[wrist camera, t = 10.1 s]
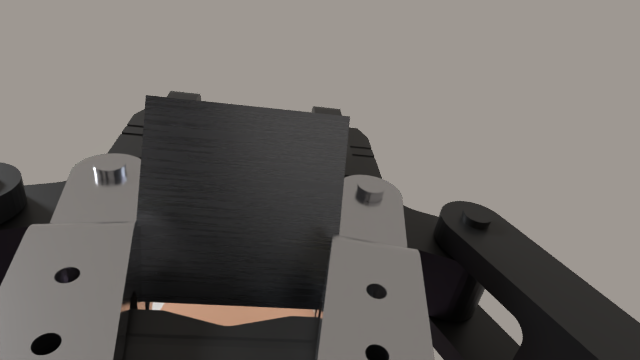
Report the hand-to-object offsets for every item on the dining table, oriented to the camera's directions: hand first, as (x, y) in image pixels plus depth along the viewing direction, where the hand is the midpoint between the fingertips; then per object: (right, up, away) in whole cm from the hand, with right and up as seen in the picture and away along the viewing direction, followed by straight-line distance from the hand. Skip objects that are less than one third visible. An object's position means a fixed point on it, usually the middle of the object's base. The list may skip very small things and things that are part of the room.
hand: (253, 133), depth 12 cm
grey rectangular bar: (-1, -3, +4) cm, 5 cm away
